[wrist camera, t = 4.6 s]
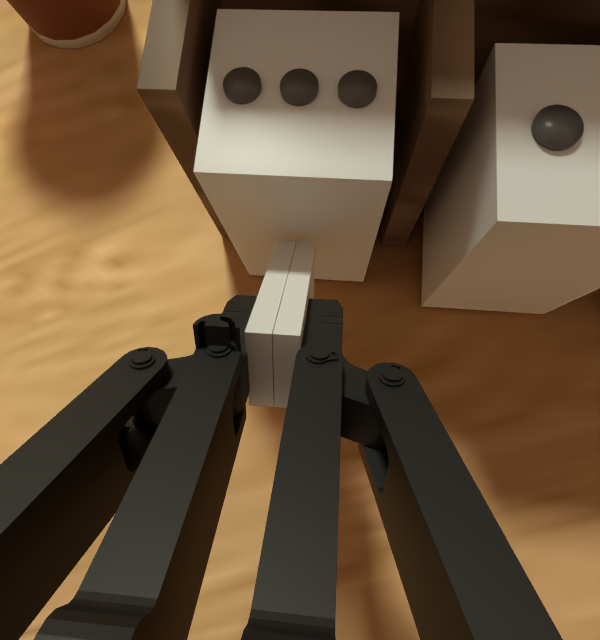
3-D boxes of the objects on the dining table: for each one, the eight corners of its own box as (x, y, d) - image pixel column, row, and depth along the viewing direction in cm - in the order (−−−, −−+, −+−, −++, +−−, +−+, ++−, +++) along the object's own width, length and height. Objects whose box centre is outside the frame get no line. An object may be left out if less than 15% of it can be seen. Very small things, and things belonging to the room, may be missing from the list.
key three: (368, 177, 24) (400, 6, 14) (363, 281, 23) (393, 177, 13) (260, 172, 24) (215, 3, 14) (249, 274, 23) (191, 168, 13)
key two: (539, 203, 23) (704, 41, 13) (543, 314, 22) (729, 229, 12) (424, 198, 23) (497, 37, 13) (421, 306, 22) (500, 217, 12)
